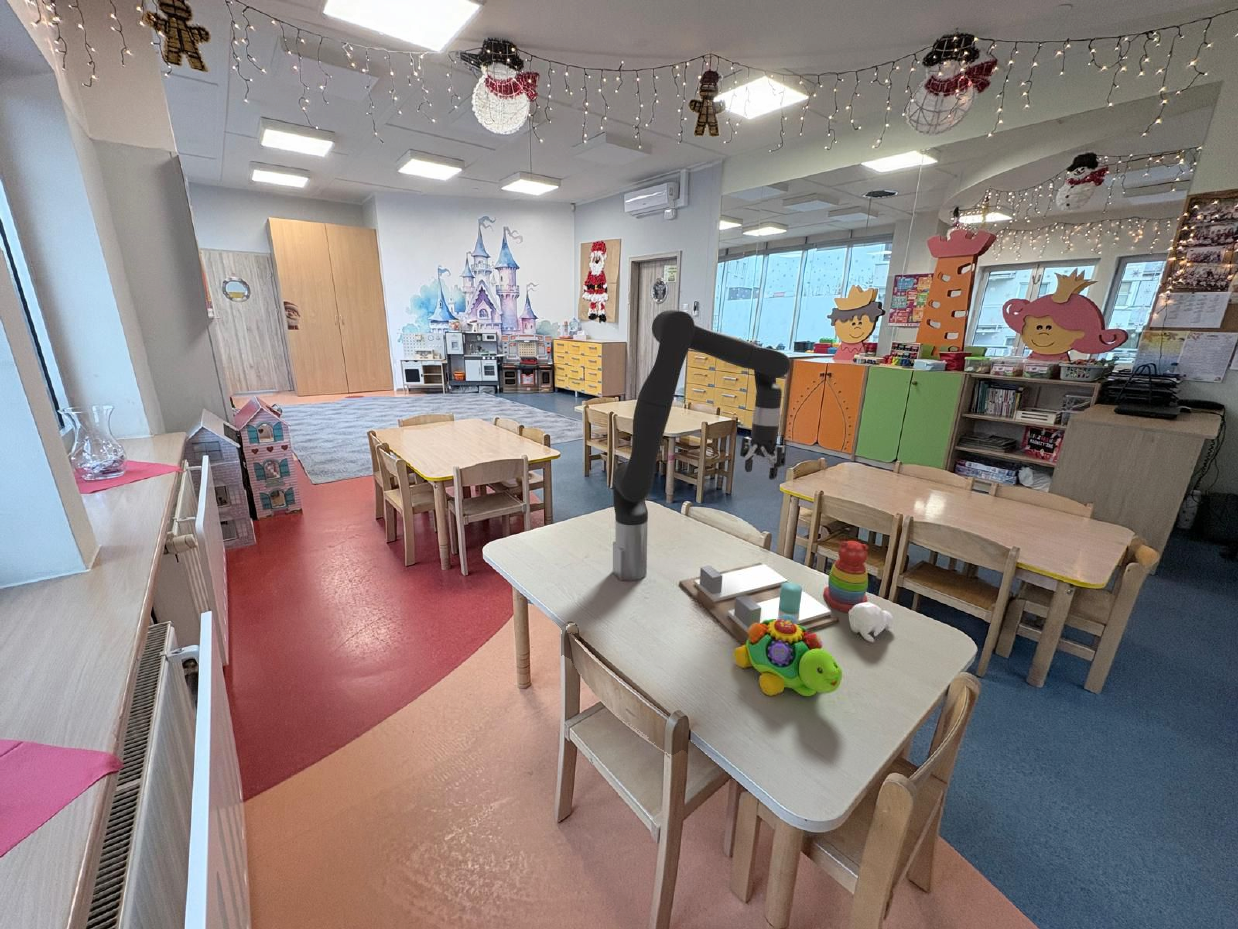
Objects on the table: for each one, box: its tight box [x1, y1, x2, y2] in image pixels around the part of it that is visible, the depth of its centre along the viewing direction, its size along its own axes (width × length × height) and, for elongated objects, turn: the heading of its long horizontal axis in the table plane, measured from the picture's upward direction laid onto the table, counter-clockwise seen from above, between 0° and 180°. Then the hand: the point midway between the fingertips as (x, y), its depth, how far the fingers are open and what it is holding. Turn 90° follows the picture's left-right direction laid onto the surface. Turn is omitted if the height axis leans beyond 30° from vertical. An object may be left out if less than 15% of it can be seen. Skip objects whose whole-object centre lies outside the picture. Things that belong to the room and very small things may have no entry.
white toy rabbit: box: [848, 601, 894, 643], centre depth 120 cm, size 6×8×12 cm
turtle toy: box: [733, 615, 843, 697], centre depth 104 cm, size 17×23×12 cm
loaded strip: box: [727, 590, 832, 633], centre depth 125 cm, size 24×10×6 cm, turn 113°
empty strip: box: [694, 563, 788, 602], centre depth 139 cm, size 24×10×6 cm, turn 113°
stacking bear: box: [823, 540, 869, 613], centre depth 130 cm, size 11×10×18 cm
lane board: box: [678, 562, 841, 646], centre depth 133 cm, size 28×31×1 cm
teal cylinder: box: [779, 581, 803, 614], centre depth 125 cm, size 5×5×6 cm
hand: (760, 475), depth 149 cm, fingers open, 8 cm apart
